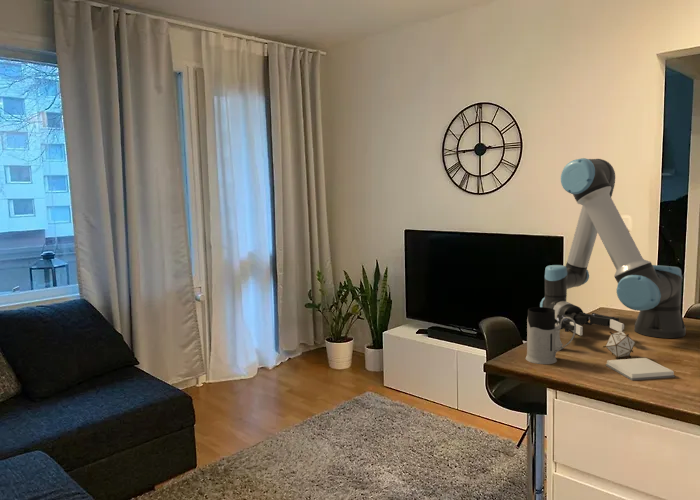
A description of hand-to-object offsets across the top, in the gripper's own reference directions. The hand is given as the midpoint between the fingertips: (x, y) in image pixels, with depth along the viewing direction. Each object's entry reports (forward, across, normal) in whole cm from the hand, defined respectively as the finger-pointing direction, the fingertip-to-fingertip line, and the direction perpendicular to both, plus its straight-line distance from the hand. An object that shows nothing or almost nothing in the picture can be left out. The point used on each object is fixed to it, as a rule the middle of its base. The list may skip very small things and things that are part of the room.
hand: (602, 329), depth 169 cm
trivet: (+21, +2, -6) cm, 22 cm away
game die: (+9, 0, -6) cm, 11 cm away
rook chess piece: (-3, +14, -6) cm, 15 cm away
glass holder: (+8, +21, -6) cm, 23 cm away
